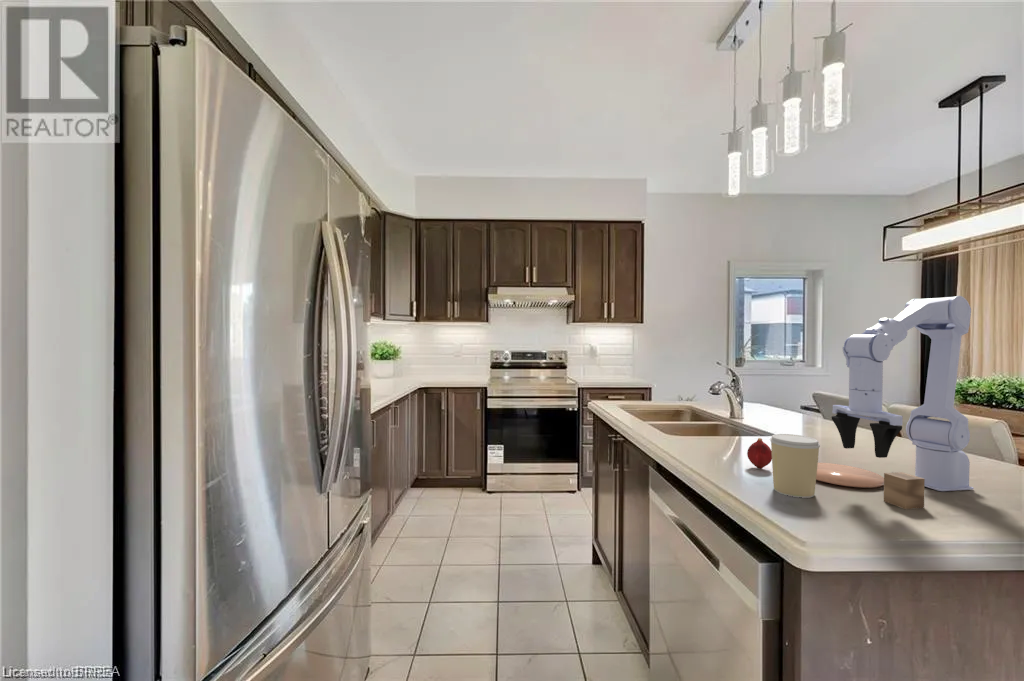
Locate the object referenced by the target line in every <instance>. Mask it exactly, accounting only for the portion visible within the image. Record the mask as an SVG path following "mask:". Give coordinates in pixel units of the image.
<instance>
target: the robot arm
mask: <svg viewBox="0 0 1024 681" xmlns="http://www.w3.org/2000/svg"><path fill="white" fill-rule="evenodd" d="M971 316H972V308H971V305H970V304H969V301H968V300H967V299H966V298H965V297H964V296H962V295H956V296H955V295H954V296H944V297H932V298H931V297H930V298H929V297H928V298H912V299H911V300H909V301H907V302H906V303H905V306H904V310H902V311H901V312H899V313H898V314H897V315H896V316H895V317H894V318H891V317H890V318H889V317H881V318H879V320H877V321H878V322H877V323H875V324H874V325H872V326H871V327H868V328H866V329H865V330H864V331H863V332H862V333H860V334H858V333H855V334H852V335H850V336H848V337H846V339H845V341H844V343H843V346H842V352H843V353H842V354H843V356H844V357H845V362H846V363H845V365H846V367H847V368H849V370H848V371H849V372H848V375H849V376H848V405H842V404H832V411H831V413H832V414H834V415H832V416H831V420H832V421H833V423H834V425H835V427H836V428H837V431H838V434H839V436H840V439H841V443H842V448H843V449H854V448H855V446H856V433H857V428H858V425H859V423H860V420H861V419H862V420H863V419H864V420H868V421H872V423H871V422H870V423H869V426H870V429H871V432H872V434H873V441H874V456H875V457H876V458H879V459H880V458H882V459H883V458H884V459H885V458H888V455H889V452H890V449H891V446H892V445H893V442H894V441H895V440H896V438H897V436H898V435H899V433H900V432H901V431H902V430H903V422H904V421H903V415H900V414H896V413H892V412H888V411H884V410H883V385H884V384H883V378H884V376H883V374H884V361H887V360H888V358H889V357H890V354H891V351H892V350H894V349H893V348H894V347H895V346H896V345H898V344H899V343H900V342H902V341H904V340H905V339H906V338H907V336H908V331H909V330H912V328H913V329H914V328H915V329H916V330H917V331H919V332H920V333H921V334H923V335H927V336H928V337H929V338H930V339H931V341H930V342H931V343H930V351H929V359H928V367H927V375H926V376H927V377H926V383H925V393H924V399H923V400H924V401H923V404H921V405H920V406H918V407H916V408H913V409H912V410H911V411H910V416H909V419H908V421H907V423H906V425H905V432H906V433H905V434H906V436H907V438H908V440H909V441H911V442H912V445H914V446H915V467H914V468H915V469H914V470H915V471H914V472H915V475H914V476H917V477H920V478H924V479H925V482H924V488H925V487H926V488H928V489H932V490H935V491H938V492H951V491H954V492H955V491H969V490H971V491H972V490H974V487H973V486H970V467H971V466H970V463H971V462H970V458H969V457H968V455H967V454H966V453H965V452H964V449H966V447H967V446H968V445H969V443H970V439H971V433H970V429H969V419H968V417H966V415H965V414H963V413H961V412H960V411H959V410H957V409H956V408H955V407H954V403H955V398H956V397H955V395H956V387H957V380H958V379H957V378H958V372H959V371H958V370H959V361H960V354H961V347H962V346H961V344H962V336H964V335H966V334H968V333H969V331H970V330H969V328H970V325H971ZM835 414H836V415H835ZM935 418H936V419H935ZM937 418H939V419H937ZM943 419H945V420H943ZM873 421H874V422H873Z"/></svg>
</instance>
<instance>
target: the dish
mask: <svg viewBox="0 0 1024 681" xmlns="http://www.w3.org/2000/svg"><path fill="white" fill-rule="evenodd" d="M816 481H819V482H824V483H829V484H833V485H839V486H844V487H851V488H852V487H854V488H877V487H878V488H879V487H882V486H884V476H882V475H881V474H878V473H876V472H873V471H870V470H868V469H864V468H860V467H855V466H851V465H846V464H838V463H830V462H818V465H817V475H816Z"/></svg>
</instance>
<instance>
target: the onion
mask: <svg viewBox="0 0 1024 681" xmlns="http://www.w3.org/2000/svg"><path fill="white" fill-rule="evenodd" d="M746 456H747V458H748V460H749V462H750V463H751V464H752V465H754V467H755V468H757V469H759V470H760V469H763V468H765V467H766V466H768V465H769V464H770V463H772V450H771V446H769V445H768V444H767V443H765V442H764V441H763V439H762V438H761V437H758V438H757V439H756V441H755V442H753V443H752V444H750V445H749V447H748V448H747V453H746Z"/></svg>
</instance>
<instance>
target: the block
mask: <svg viewBox="0 0 1024 681" xmlns="http://www.w3.org/2000/svg"><path fill="white" fill-rule="evenodd" d="M883 478H884V485H883V502H885V503H888V504H890V505H894V506H896V507H899V508H901V509H904V510H913V509H912V508H916V509H924V508H925V486H924V482H925V479H924V478H920V477H917V476H915V475H913V474H910V473H906V472H903V471H902V472H901V471H898V472H884V473H883ZM923 507H924V508H923Z"/></svg>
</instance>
